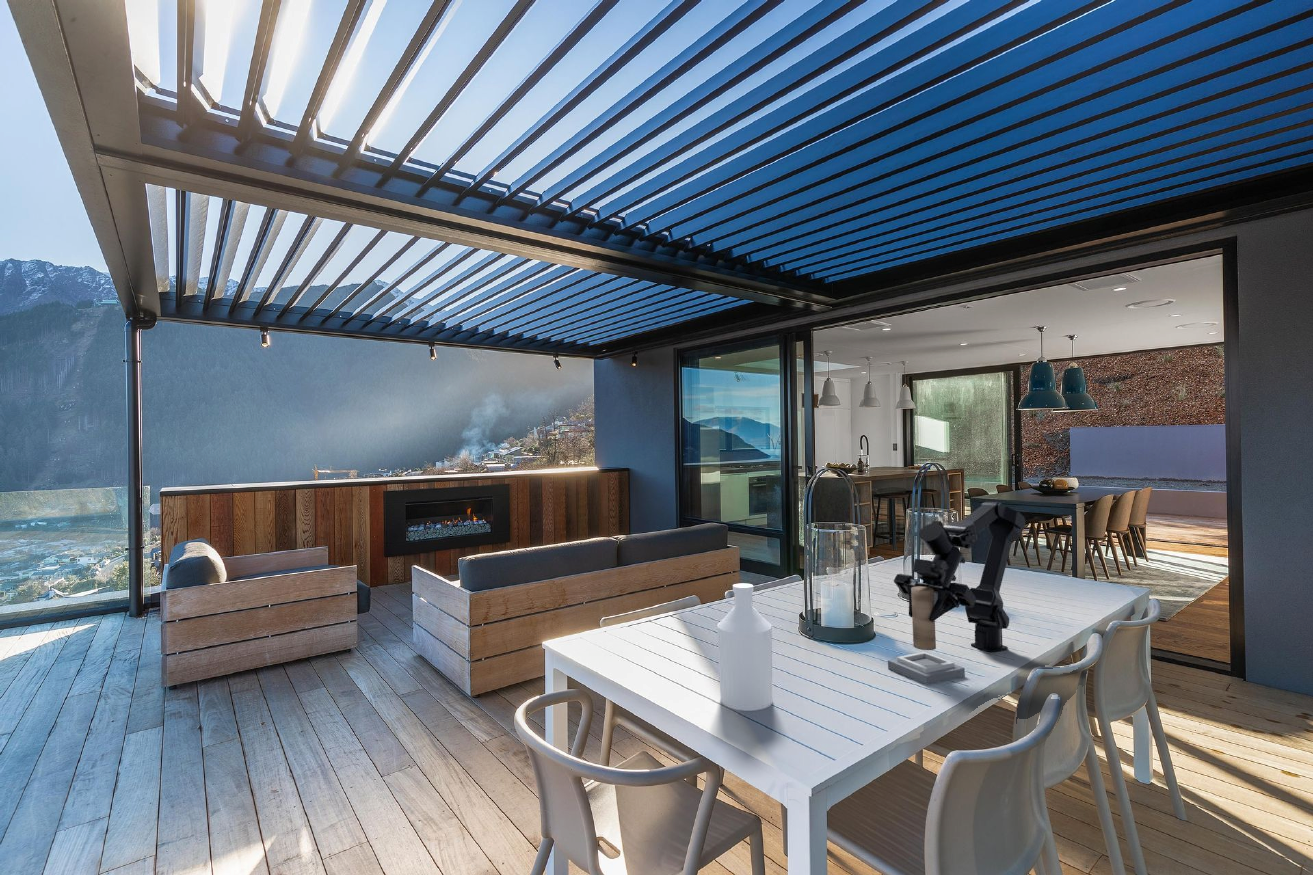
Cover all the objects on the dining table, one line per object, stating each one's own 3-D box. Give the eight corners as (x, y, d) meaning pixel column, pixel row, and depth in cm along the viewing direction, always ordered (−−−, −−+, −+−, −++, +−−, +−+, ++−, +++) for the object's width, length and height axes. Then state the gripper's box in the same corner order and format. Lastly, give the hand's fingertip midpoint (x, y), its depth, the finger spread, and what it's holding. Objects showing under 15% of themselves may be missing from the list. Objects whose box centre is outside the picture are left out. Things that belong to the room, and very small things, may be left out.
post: (915, 642, 150) (913, 585, 151) (937, 645, 148) (935, 587, 148) (911, 648, 146) (909, 589, 147) (934, 651, 143) (931, 591, 144)
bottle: (708, 700, 133) (705, 586, 134) (741, 685, 142) (738, 577, 142) (752, 716, 125) (748, 594, 126) (784, 698, 133) (781, 584, 134)
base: (924, 660, 155) (924, 648, 155) (964, 676, 143) (964, 663, 144) (888, 668, 150) (887, 656, 150) (926, 685, 139) (926, 671, 139)
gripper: (896, 542, 157) (871, 591, 151) (967, 550, 142) (942, 606, 136) (915, 568, 162) (891, 617, 155) (986, 579, 146) (963, 634, 140)
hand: (920, 618), depth 146 cm, fingers closed on post, 5 cm apart
